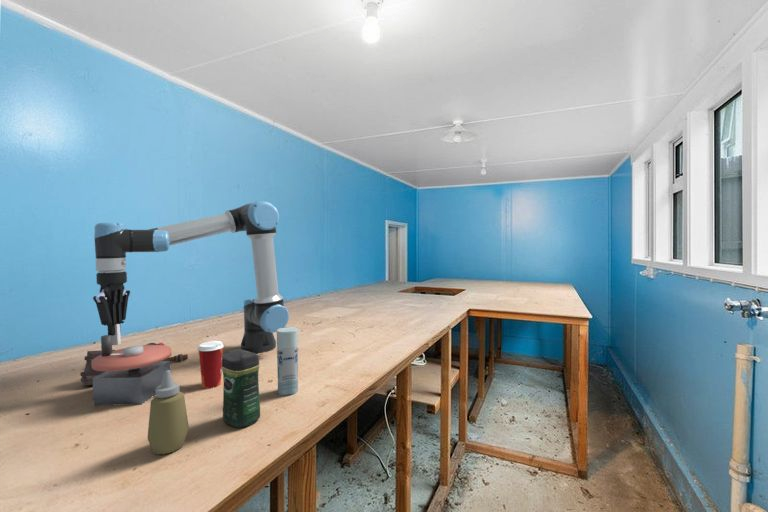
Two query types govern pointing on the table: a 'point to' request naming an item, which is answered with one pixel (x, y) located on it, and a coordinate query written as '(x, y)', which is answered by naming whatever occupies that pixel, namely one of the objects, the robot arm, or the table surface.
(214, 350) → the paper cup
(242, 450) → the table surface
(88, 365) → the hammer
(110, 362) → the handwheel
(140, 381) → the grey box
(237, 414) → the coffee jar
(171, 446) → the squeeze bottle
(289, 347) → the spray paint can
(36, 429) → the table surface
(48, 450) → the table surface
